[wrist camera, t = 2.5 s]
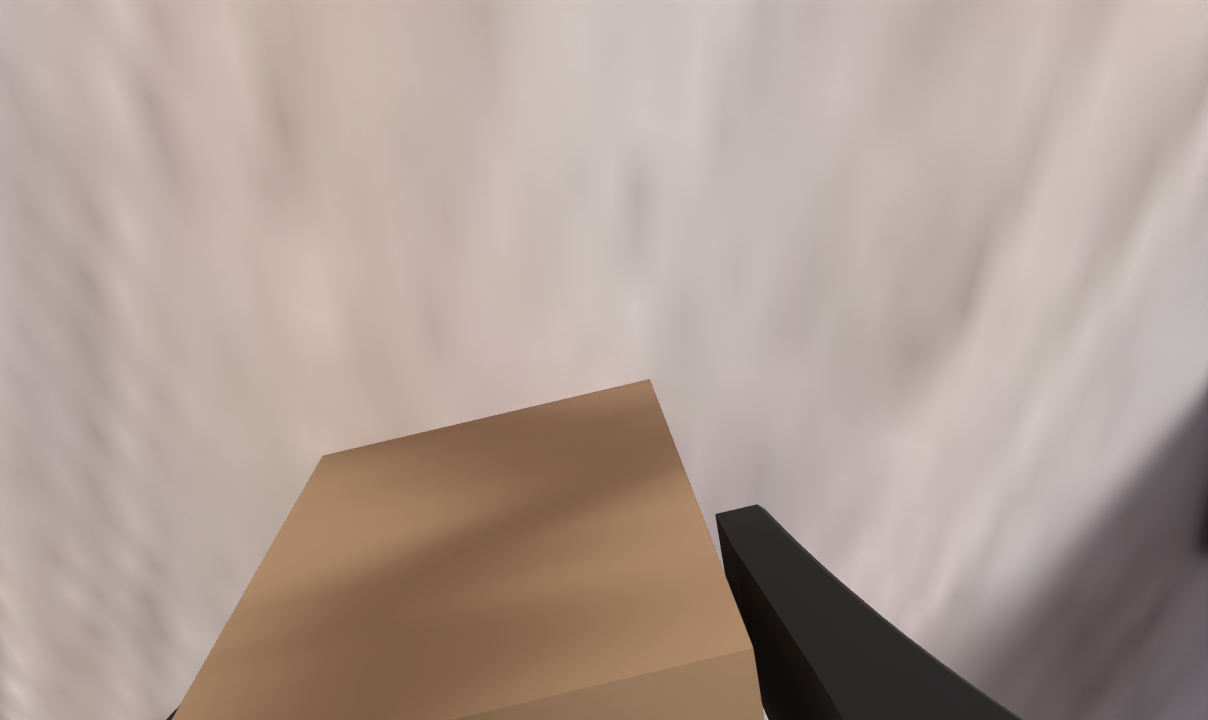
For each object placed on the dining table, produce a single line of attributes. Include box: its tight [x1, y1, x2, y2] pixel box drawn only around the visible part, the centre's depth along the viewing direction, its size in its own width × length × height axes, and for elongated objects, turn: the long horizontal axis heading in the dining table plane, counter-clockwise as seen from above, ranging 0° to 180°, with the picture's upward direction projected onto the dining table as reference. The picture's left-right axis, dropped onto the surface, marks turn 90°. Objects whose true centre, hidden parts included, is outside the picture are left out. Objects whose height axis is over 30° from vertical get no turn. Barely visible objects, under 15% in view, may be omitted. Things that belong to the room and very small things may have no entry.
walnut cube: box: [172, 379, 764, 720], centre depth 8 cm, size 5×5×5 cm
